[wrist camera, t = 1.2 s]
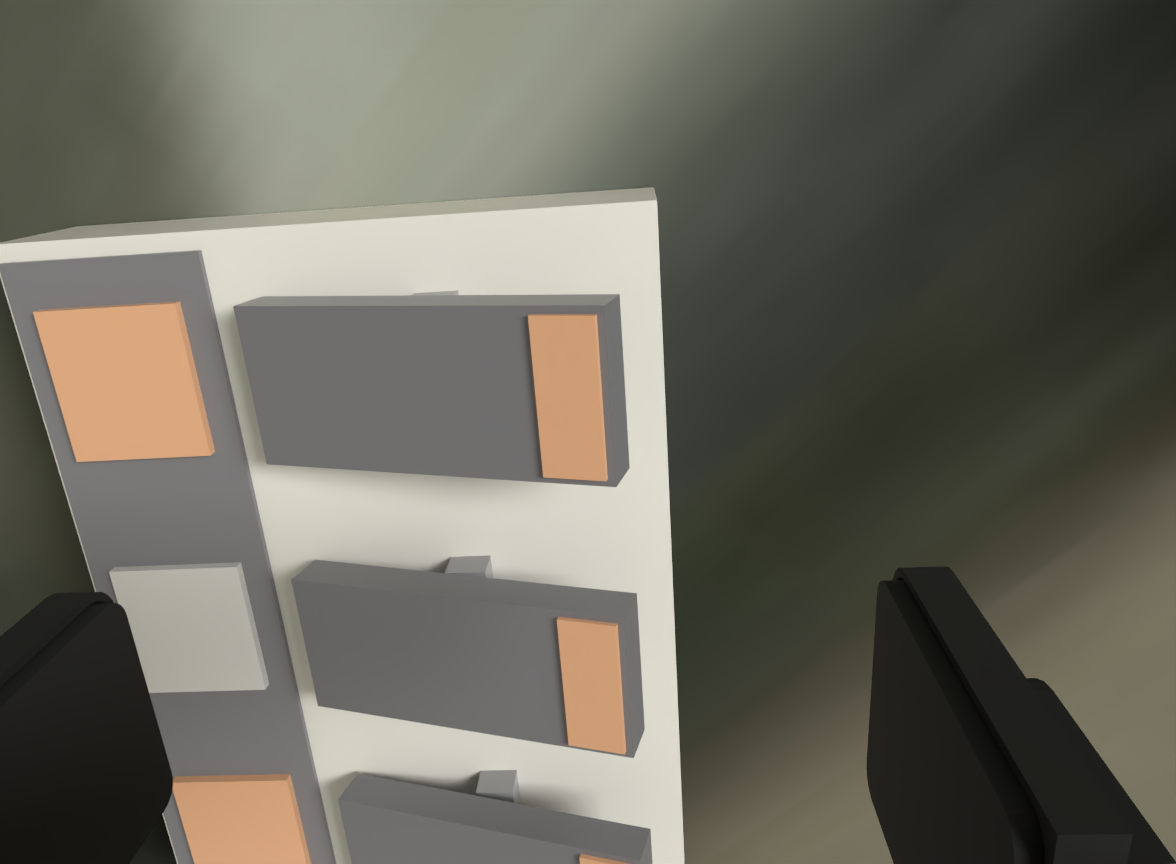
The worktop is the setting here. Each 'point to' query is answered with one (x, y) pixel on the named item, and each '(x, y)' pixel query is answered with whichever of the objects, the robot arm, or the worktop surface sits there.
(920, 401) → the worktop surface
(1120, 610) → the worktop surface
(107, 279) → the switch unit
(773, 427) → the worktop surface
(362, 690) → the rocker
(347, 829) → the rocker
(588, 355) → the block
